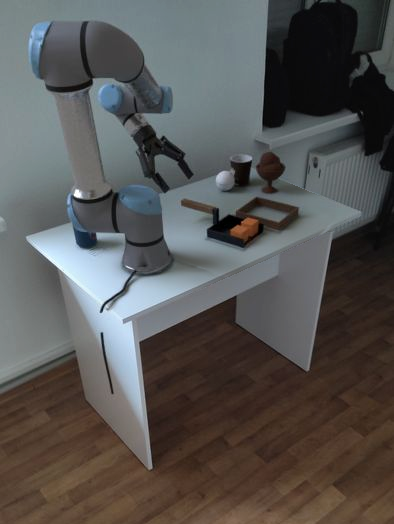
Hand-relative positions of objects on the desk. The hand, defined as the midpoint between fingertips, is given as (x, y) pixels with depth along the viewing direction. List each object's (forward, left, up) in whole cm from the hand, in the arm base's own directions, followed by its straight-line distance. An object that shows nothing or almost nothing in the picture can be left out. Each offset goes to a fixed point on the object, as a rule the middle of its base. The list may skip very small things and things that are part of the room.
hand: (179, 184), depth 171 cm
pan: (+3, -15, -13) cm, 20 cm away
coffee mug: (+39, +7, -13) cm, 42 cm away
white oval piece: (+29, +5, -13) cm, 32 cm away
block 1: (+1, -26, -12) cm, 29 cm away
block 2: (+8, -25, -12) cm, 29 cm away
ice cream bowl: (+40, -7, -13) cm, 43 cm away
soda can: (-33, +11, -13) cm, 37 cm away
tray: (+21, -22, -13) cm, 33 cm away
